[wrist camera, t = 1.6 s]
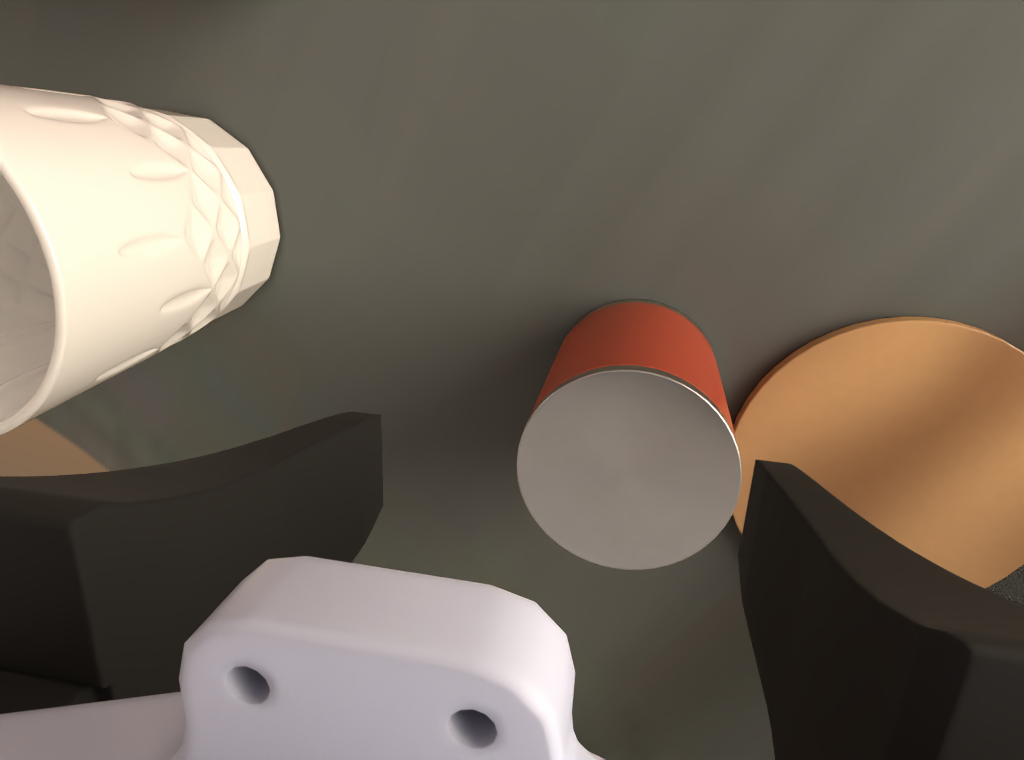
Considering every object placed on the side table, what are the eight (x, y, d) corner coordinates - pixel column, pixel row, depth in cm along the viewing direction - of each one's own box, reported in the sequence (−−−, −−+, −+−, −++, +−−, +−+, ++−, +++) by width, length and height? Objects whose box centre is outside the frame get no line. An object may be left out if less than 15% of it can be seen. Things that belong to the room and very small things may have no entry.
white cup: (94, 302, 26) (-223, 397, 16) (82, 72, 23) (-310, 31, 14) (291, 349, 25) (74, 479, 15) (305, 115, 22) (49, 104, 13)
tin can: (744, 332, 21) (782, 418, 15) (679, 471, 23) (688, 601, 17) (585, 276, 22) (556, 337, 15) (535, 417, 24) (489, 524, 17)
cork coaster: (1146, 385, 20) (1158, 391, 19) (958, 643, 24) (964, 653, 23) (807, 269, 20) (811, 272, 20) (677, 537, 24) (678, 545, 24)
